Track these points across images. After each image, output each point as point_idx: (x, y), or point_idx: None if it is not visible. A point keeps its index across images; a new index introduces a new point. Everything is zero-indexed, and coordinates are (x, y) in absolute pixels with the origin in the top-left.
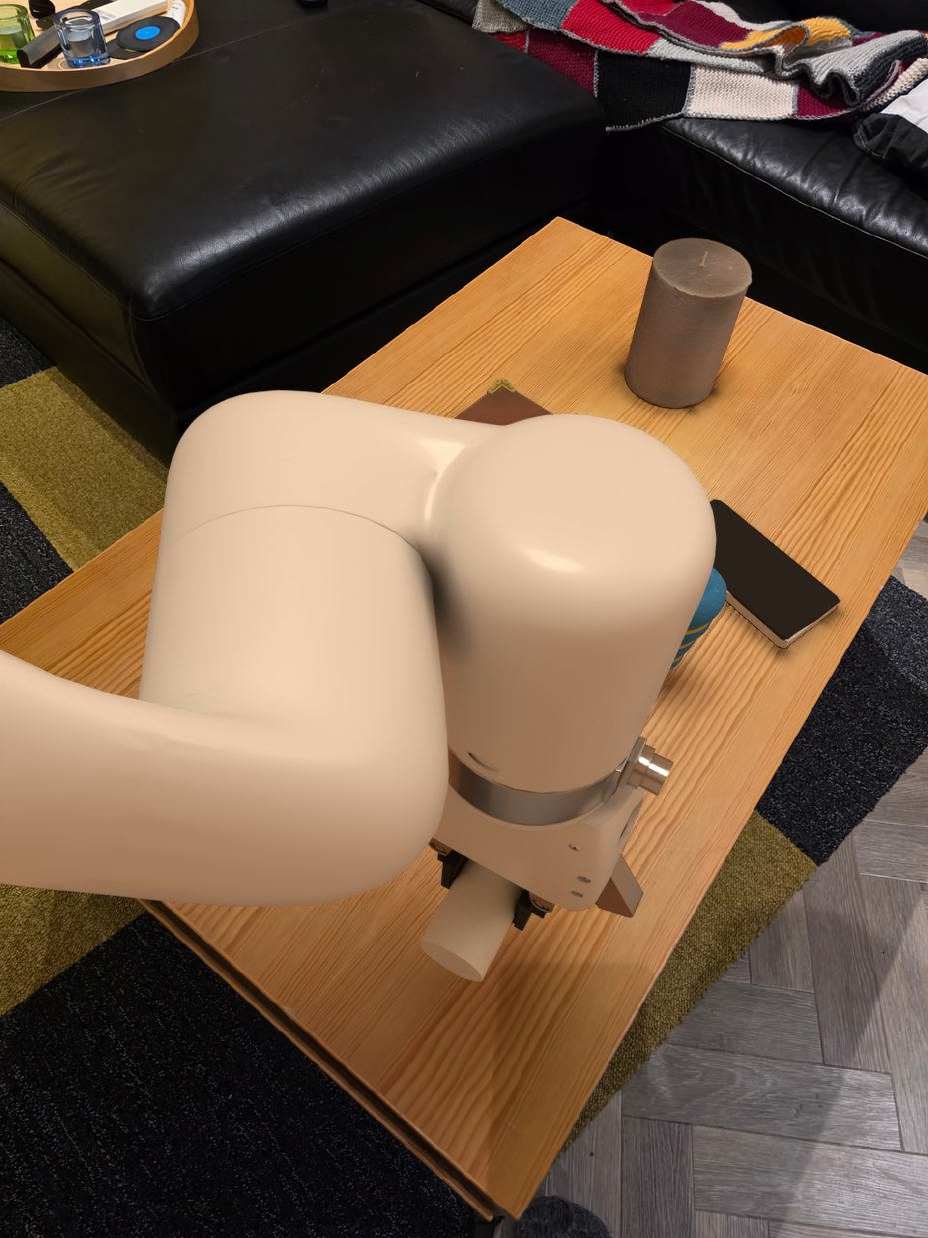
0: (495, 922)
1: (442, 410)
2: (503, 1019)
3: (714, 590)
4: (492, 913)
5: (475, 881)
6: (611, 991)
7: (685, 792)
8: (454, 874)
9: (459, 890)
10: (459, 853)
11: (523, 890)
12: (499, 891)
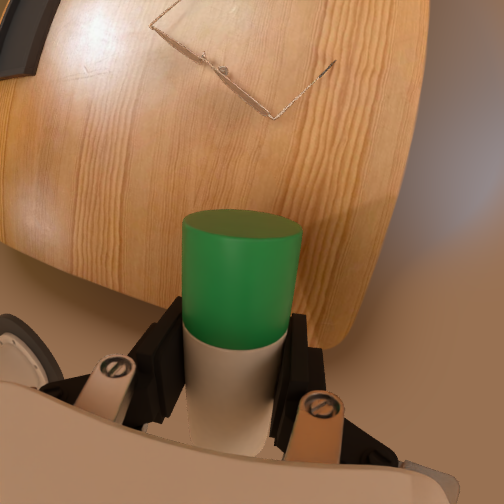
0: (253, 430)
1: None
2: (302, 270)
3: None
4: (244, 430)
5: (204, 408)
6: (373, 223)
7: (381, 44)
8: (177, 397)
9: (193, 412)
10: (161, 407)
11: (271, 429)
12: (241, 412)
